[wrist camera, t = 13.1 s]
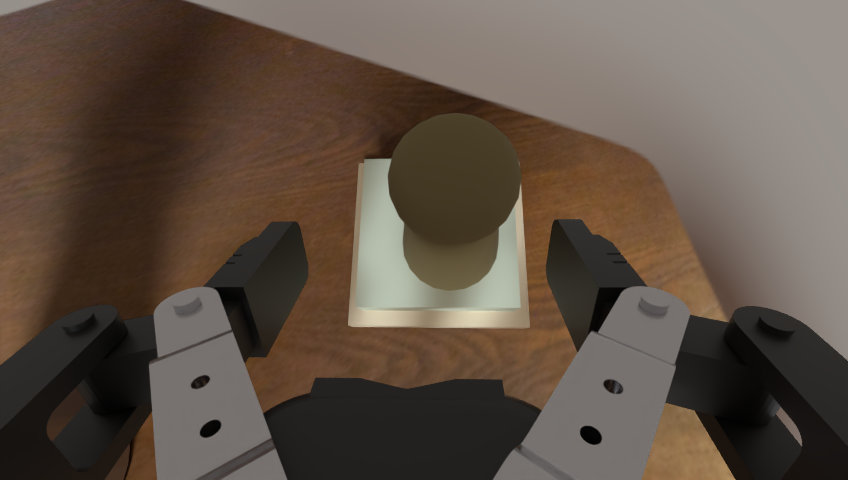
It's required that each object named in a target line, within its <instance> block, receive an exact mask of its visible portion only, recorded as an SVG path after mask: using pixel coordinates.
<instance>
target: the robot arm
mask: <svg viewBox="0 0 848 480" xmlns="http://www.w3.org/2000/svg"><path fill="white" fill-rule="evenodd" d="M546 275H547V280H548V283H549V286H550V288H551V290H552V293H553V295H554V298H555V300H556V302H557V305H558V307H559V309H560V312H561V314H562V316H563V319H564V321H565V323H566V326H567V328H568V330H569V333H570V335H571V338H572V340H573V342H574V345H575V347H576V349H577V352H578V353H577V355H576V356H575V358H574V360H573V361H572V363H571V364H570V366H569V368H568V369H567V371H566V373H565V374H564V376H563V377H562V379H561V381H560V382H559V384H558V386H557V387H556V389H555V390H554V392H553V394H552V395H551V397H550V399H549V400H548V402H547V403H546V405H545V407H544V408H543V410H540V409H539V408H537V407H535V406H533V405H531V404H529V403H527V402H525V401H522V400H520V399H517V398H514V397H511V396H507V395H505V394H504V388H503V383H502V380H484V379H454V380H449V381H444V382H440V383H435V384H430V385H425V386H420V387H415V388H410V389H404V388H399V387H395V386H391V385H387V384H382V383H378V382H374V381H370V380H366V379H362V378H315V381H314V384H313V386H312V389H311V392H310V393H308V394H304V395H301V396H297V397H294V398H292V399H289V400H287V401H284V402H282V403H280V404H278V405H276V406H275V407H273V408H271V409H269V410H268V411H266V412H265V413H262V410H261V407H260V405H259V402H258V399H257V396H256V394H255V391H254V388H253V386H252V383H251V380H250V377H249V375H248V372H247V369H246V367H245V363H246V361H247V359H248V357H267V355H268V353H269V351H270V349H271V347H272V345H273V344H274V342H275V340H276V338H277V336H278V334H279V332H280V330H281V329H282V327H283V325H284V323H285V321H286V319H287V317H288V315H289V314H290V312H291V310H292V308H293V306H294V304H295V302H296V300H297V298H298V297H299V295H300V293H301V291H302V289H303V287H304V285H305V283H306V281H307V278H308V262H307V257H306V253H305V248H304V243H303V239H302V234H301V229H300V226H299V224H298V223H297V222H271V223H270V224H269V225H268V226H267V227H266V229H265V230H264V231H263V232H262V233H261V234H260V235H259V237H255V238H253V239H251V240H250V241H248V242H246V243H244V244H243V245H241V246H240V247H239V249H238V250H237V251H236V252H235V253H234V254H233V257H230V258H229V259H228V260H227V262H226V264H224V265H223V266H222V267H221V268H220V269H219V270H218V271H217V272H216V273H215V275H214V276H213V277H212V278H211V279H210V280H209V281H208V282H207V283H206V284H205V285H204V286H203V287H196V288H191V289H187V290H184V291H181V292H178V293H176V294H174V295H172V296H170V297H168V298H167V299H165V300H164V301H163V302H161V303H160V304H159V305H158V306H157V308H156V309H155V311H154V315H149V316H144V317H139V318H134V319H129V320H124V321H123V320H122V318H121V316H120V314H119V312H118V310H117V309H116V308H115V307H114V306H111V305H95V306H90V307H86V308H83V309H80V310H77V311H74V312H72V313H70V314H67V315H65V316H63V317H62V318H60V319H58V320H57V321H55V322H54V323H52V324H51V325H50V326H48V327H47V328H46V329H45V330H43V331H42V332H41V333H40V334H38V335H37V336H36V337H35V338H33V339H32V340H31V341H30V342H29V343H27V344H26V345H25V346H24V347H22V348H21V349H20V350H19V351H17V352H16V353H15V354H14V355H12V356H11V357H10V358H9V359H8V360H6V361H5V362H4V363H3V364H1V365H0V480H124V476H125V473H126V470H127V466H128V461H129V452H130V442H131V441H132V439H133V438H134V436H135V435H136V433H137V432H138V430H139V429H140V428H141V426H142V425H143V423H144V422H145V420H146V419H147V417H148V416H149V415H150V413H151V412H152V414H153V428H154V442H155V455H156V469H157V480H641V479H642V476H643V473H644V470H645V466H646V463H647V460H648V457H649V453H650V450H651V447H652V444H653V440H654V437H655V434H656V431H657V428H658V424H659V421H660V418H661V415H662V411H663V408H664V405H665V403H669V404H672V405H676V406H680V407H684V408H687V409H691V410H695V412H696V414H697V416H698V417H699V419H700V421H701V422H702V424H703V426H704V427H705V429H706V431H707V432H708V434H709V436H710V437H711V439H712V441H713V442H714V444H715V446H716V447H717V449H718V451H719V452H720V454H721V456H722V457H723V459H724V461H725V463H726V464H727V466H728V468H729V469H730V471H731V473H732V474H733V476H734V478H735V479H736V480H848V361H847V360H846V359H845V358H844V357H843V356H842V355H840V354H839V353H838V352H837V351H836V350H835V349H833V348H832V347H831V346H830V345H829V344H828V343H826V342H825V341H824V340H823V339H822V338H821V337H820V336H819V335H817V334H816V333H815V332H814V331H813V330H812V329H810V328H809V327H808V326H807V325H805V324H804V323H802V322H801V321H799V320H797V319H795V318H793V317H791V316H789V315H787V314H784V313H781V312H778V311H775V310H772V309H768V308H763V307H756V306H746V307H741V308H738V309H736V310H735V311H734V313H733V315H732V317H731V319H730V321H729V323H728V322H723V321H718V320H713V319H708V318H703V317H698V316H693V315H690V312H689V309H688V307H687V306H686V305H685V304H684V303H683V302H682V301H681V300H680V299H678V298H677V297H675V296H674V295H672V294H670V293H668V292H665V291H662V290H659V289H656V288H651V287H648V286H647V285H646V284H645V283H644V282H643V280H642V279H641V278H640V277H639V275H638V274H637V273H636V272H635V270H634V269H633V268H632V267H631V265H630V264H629V263H627V260H626V259H625V258H624V257H623V255H621V253H620V252H619V250H618V249H617V248H616V247H615V246H614V244H613V243H612V242H610V241H608V240H607V239H605V238H603V237H602V236H600V235H592V233H591V232H590V231H589V229H588V228H587V226H586V225H585V224H584V222H583V221H582V220H581V219H557V220H554V222H553V225H552V230H551V236H550V243H549V250H548V256H547V263H546ZM75 388H76V389H75ZM780 407H782V409H783V410H784V411H785V412H786V413H787V415H788V416H789V417H790V418H791V419H792V421H793V422H794V423H795V424H796V426H797V428H798V430H799V432H800V435H801V438H802V446H801V445H800V444H799V443H798V441H797V440H796V439H795V438H794V436H793V435H792V434H791V433H790V432H789V430H788V429H787V428H786V426H785V425H784V424H783V423H782V422H781V420H780V419H779V418H778V416H777V415H776V413H777V411H778V410H779V408H780Z"/></svg>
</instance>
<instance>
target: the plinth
mask: <svg viewBox="0 0 848 480" xmlns="http://www.w3.org/2000/svg"><path fill="white" fill-rule="evenodd" d="M390 163H391V159H364V163H359V171H358V186H357V201H356V215H355V230H354V245H353V260H352V275H351V289H350V304H349V319H348V326H352V327H424V328H521V329H525V328H529V327H530V321H529V305H528V289H527V273H526V258H525V242H524V226H523V210H522V194H521V185H520V192H519V198H518V200H517V202H516V204H515V206H514V207H513V209H512V211H511V213H510V215H509V217H508V219H507V220H506V221H505V222H504V223H503V224H502V225H501V226H500V227H499V244H498V251H497V257H496V260H495V262H494V264H493V266H492V268H491V270H490V272H489V273H488V274H487V275H486V276H485V277H484V278H483V279H482V280H480V281H479V282H478V283H476V284H474V285H472V286H470V287H468V288H466V289H461V290H452V291H447V290H442V289H436V288H433V287H431V286H429V285H427V284H426V283H424V282H422V281H420V280H419V279H418V278H417V276H416V275H415V274H414V273H413V272H412V271H411V270H410V268H409V266H408V264H407V262H406V259H405V257H404V251H403V231H404V222H403V221H402V220H401V219H400V218H399V216H398V213H397V211H396V209H395V207H394V205H393V203H392V201H391V198H390V196H389V187H388V172H389V167H390ZM519 166H520V163H519Z"/></svg>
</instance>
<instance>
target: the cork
mask: <svg viewBox="0 0 848 480" xmlns="http://www.w3.org/2000/svg"><path fill="white" fill-rule="evenodd" d="M520 185H521V170H520V166H519V161H518V156H517V153H516V151H515V149H514V148H513V146H512V144H511V143H510V141H509V139H508V138H507V137H506V136H505V135H504V134H503V133H502V132H501V131H500V130H498V129H497V128H496V127H495V126H494V125H493V124H491V123H490V122H487V121H485V120H483V119H481V118H479V117H476V116H474V115H468V114H461V113H450V114H442V115H437V116H434V117H432V118H430V119H427V120H425V121H423V122H421V123H419V124H417V125H416V126H415V127H414V128H413V129H411V130H410V131H409V132H408V133H407V134H405V135H404V136H403V138H402V139H401V141H400V142H399V144H398V145H397V147H396V148H395V150H394V152H393V155H392V159H391V163H390V167H389V172H388V187H389V196H390V198H391V201H392V203H393V205H394V207H395V209H396V211H397V213H398V216H399V218H400V219H401V220H402V221H403V222H404V231H403V251H404V257H405V259H406V262H407V264H408V266H409V268H410V270H411V271H412V272H413V273H414V274H415V275H416V276H417V278H418V279H419V280H420V281H422V282H424V283H426V284H427V285H429V286H431V287H433V288H436V289H442V290H447V291H452V290H461V289H466V288H468V287H470V286H472V285H474V284H476V283H478V282H479V281H480V280H482V279H483V278H484V277H485V276H486V275H487V274H488V273H489V272H490V270H491V268H492V266H493V264H494V262H495V260H496V257H497V251H498V244H499V227H500V226H501V225H502V224H503V223H504V222H505V221H506V220H507V219H508V217H509V215H510V213H511V211H512V209H513V207H514V206H515V204H516V202H517V200H518V198H519V192H520Z"/></svg>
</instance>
